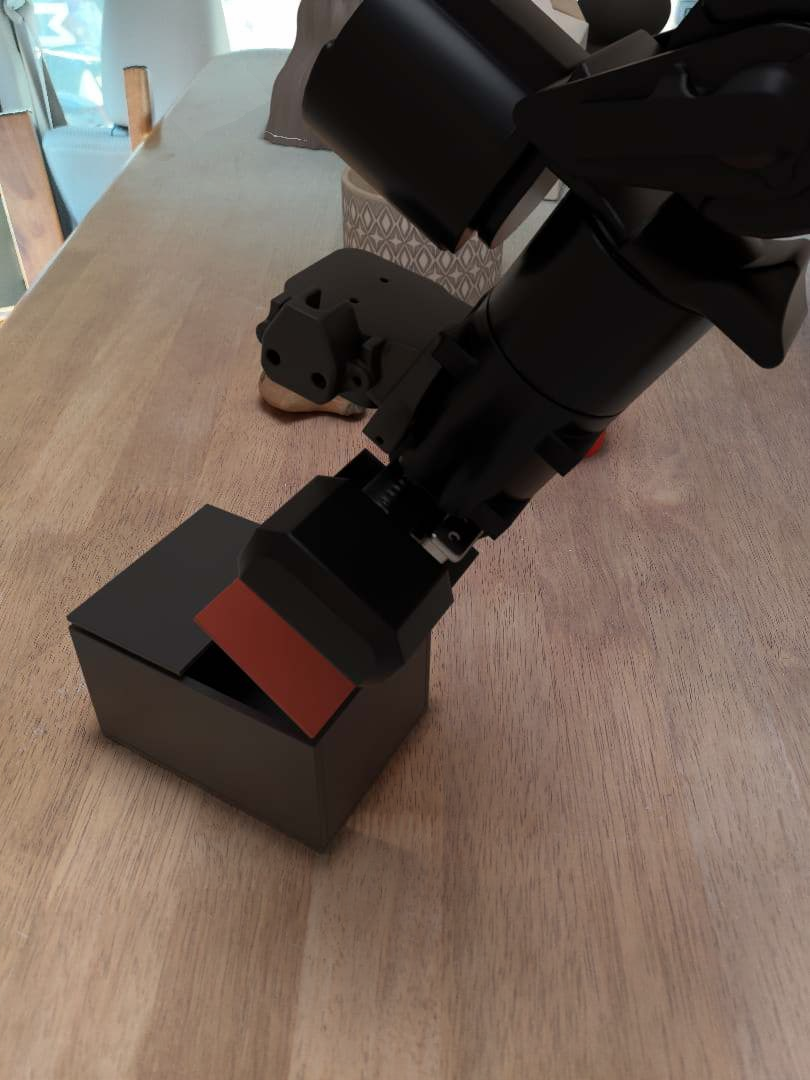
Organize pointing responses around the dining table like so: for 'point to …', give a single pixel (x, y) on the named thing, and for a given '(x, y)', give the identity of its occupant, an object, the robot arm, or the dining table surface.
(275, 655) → the lid
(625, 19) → the vase
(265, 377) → the oil lamp
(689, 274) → the robot arm
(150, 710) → the black flip box
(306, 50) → the bust
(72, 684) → the dining table surface
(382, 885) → the dining table surface
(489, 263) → the planter
